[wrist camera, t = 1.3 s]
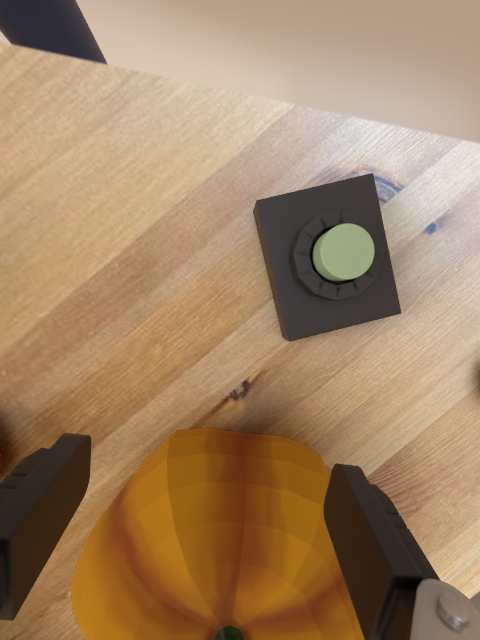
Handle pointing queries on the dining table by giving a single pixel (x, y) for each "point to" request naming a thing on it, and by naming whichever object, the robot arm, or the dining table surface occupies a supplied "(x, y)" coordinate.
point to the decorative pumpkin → (216, 547)
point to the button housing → (298, 267)
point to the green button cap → (343, 252)
